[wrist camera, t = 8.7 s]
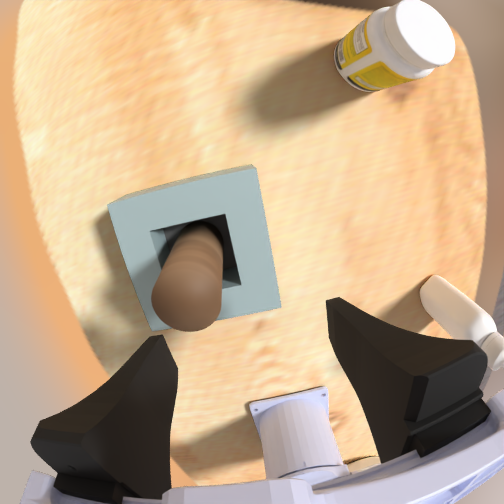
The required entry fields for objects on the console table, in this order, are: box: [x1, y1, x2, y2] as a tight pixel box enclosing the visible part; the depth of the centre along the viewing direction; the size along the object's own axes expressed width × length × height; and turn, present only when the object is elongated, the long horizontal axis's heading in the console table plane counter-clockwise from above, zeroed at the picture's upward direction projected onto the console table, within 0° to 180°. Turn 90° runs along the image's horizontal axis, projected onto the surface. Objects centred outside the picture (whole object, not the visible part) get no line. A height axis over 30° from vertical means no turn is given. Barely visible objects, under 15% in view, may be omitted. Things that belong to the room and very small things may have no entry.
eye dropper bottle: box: [420, 275, 504, 371], centre depth 19 cm, size 4×6×12 cm
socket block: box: [107, 165, 281, 331], centre depth 19 cm, size 9×9×4 cm
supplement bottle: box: [334, 0, 455, 92], centre depth 13 cm, size 5×5×8 cm
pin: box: [151, 221, 224, 332], centre depth 17 cm, size 3×3×8 cm
